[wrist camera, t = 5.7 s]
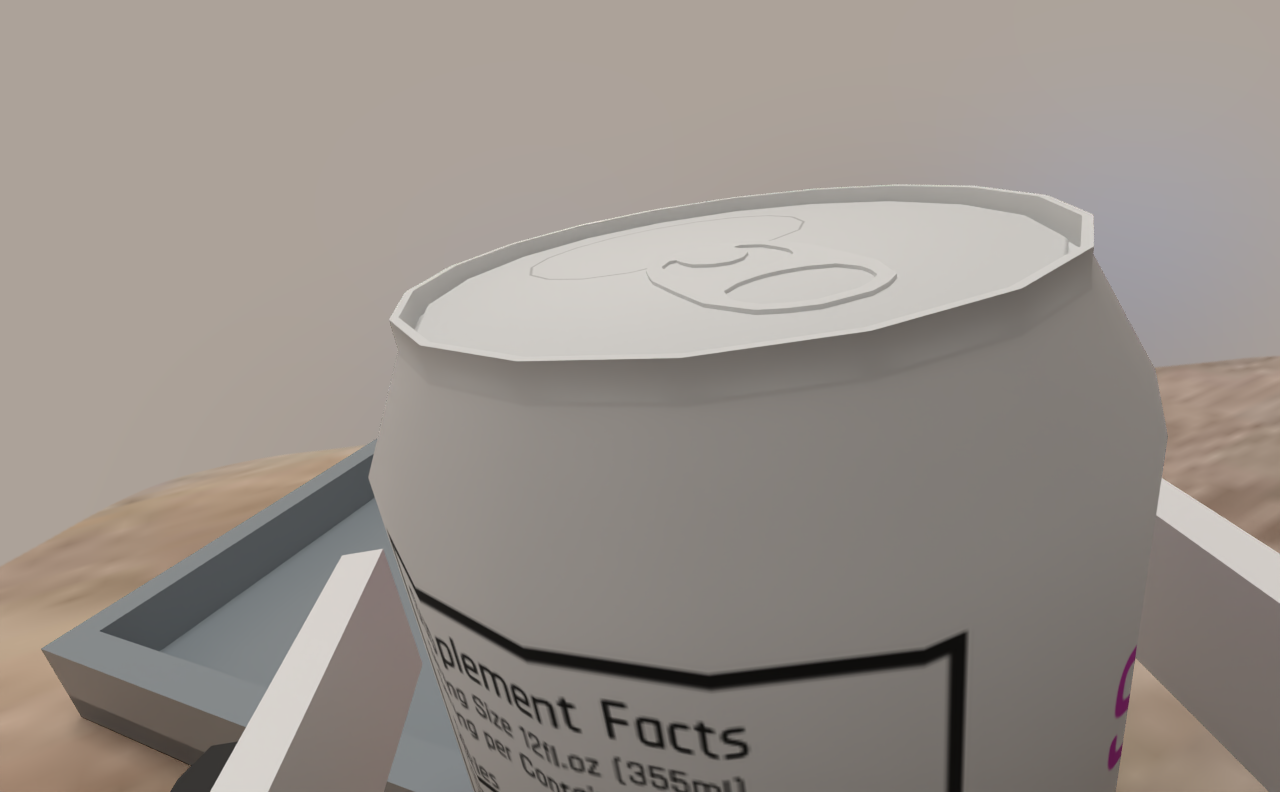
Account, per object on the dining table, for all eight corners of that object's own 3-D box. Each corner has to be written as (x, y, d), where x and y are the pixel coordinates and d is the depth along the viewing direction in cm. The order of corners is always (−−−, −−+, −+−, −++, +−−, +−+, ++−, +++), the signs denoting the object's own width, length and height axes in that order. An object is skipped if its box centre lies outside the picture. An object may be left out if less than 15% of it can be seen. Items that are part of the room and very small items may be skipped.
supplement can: (544, 927, 16) (336, 268, 10) (857, 778, 18) (828, 168, 12) (692, 1576, 9) (265, 560, 3) (1182, 1196, 11) (1467, 197, 5)
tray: (741, 498, 31) (734, 437, 30) (502, 903, 16) (472, 813, 15) (428, 465, 39) (413, 415, 38) (81, 716, 25) (41, 648, 23)
